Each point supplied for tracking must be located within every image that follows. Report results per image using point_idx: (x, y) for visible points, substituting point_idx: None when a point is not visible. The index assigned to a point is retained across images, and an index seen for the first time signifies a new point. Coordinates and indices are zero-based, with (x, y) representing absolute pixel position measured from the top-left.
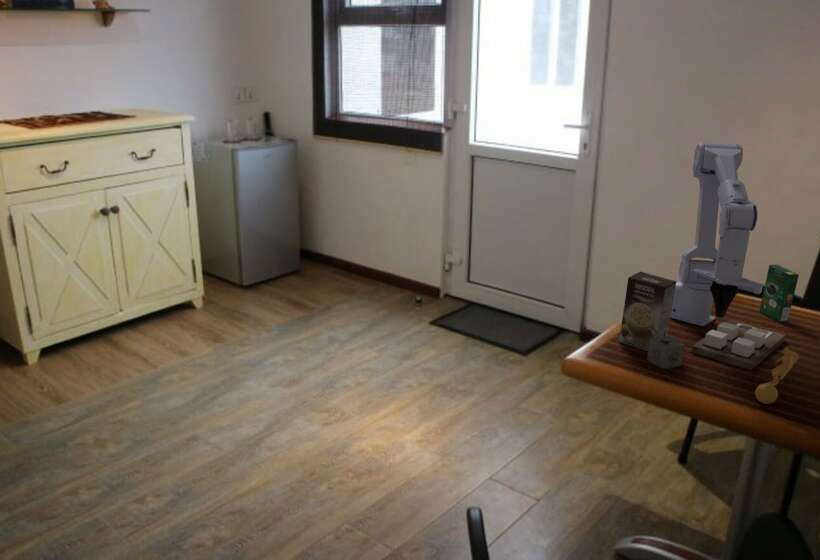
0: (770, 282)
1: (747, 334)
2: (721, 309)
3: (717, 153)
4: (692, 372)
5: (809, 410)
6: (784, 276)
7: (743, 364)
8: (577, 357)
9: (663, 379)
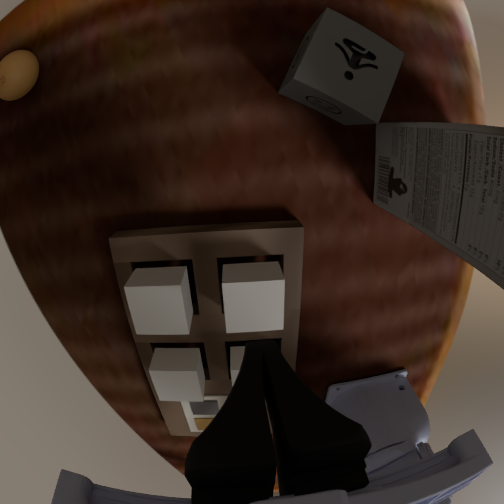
0: None
1: (186, 370)
2: (253, 365)
3: None
4: (228, 72)
5: None
6: None
7: (134, 232)
8: (460, 3)
9: None
